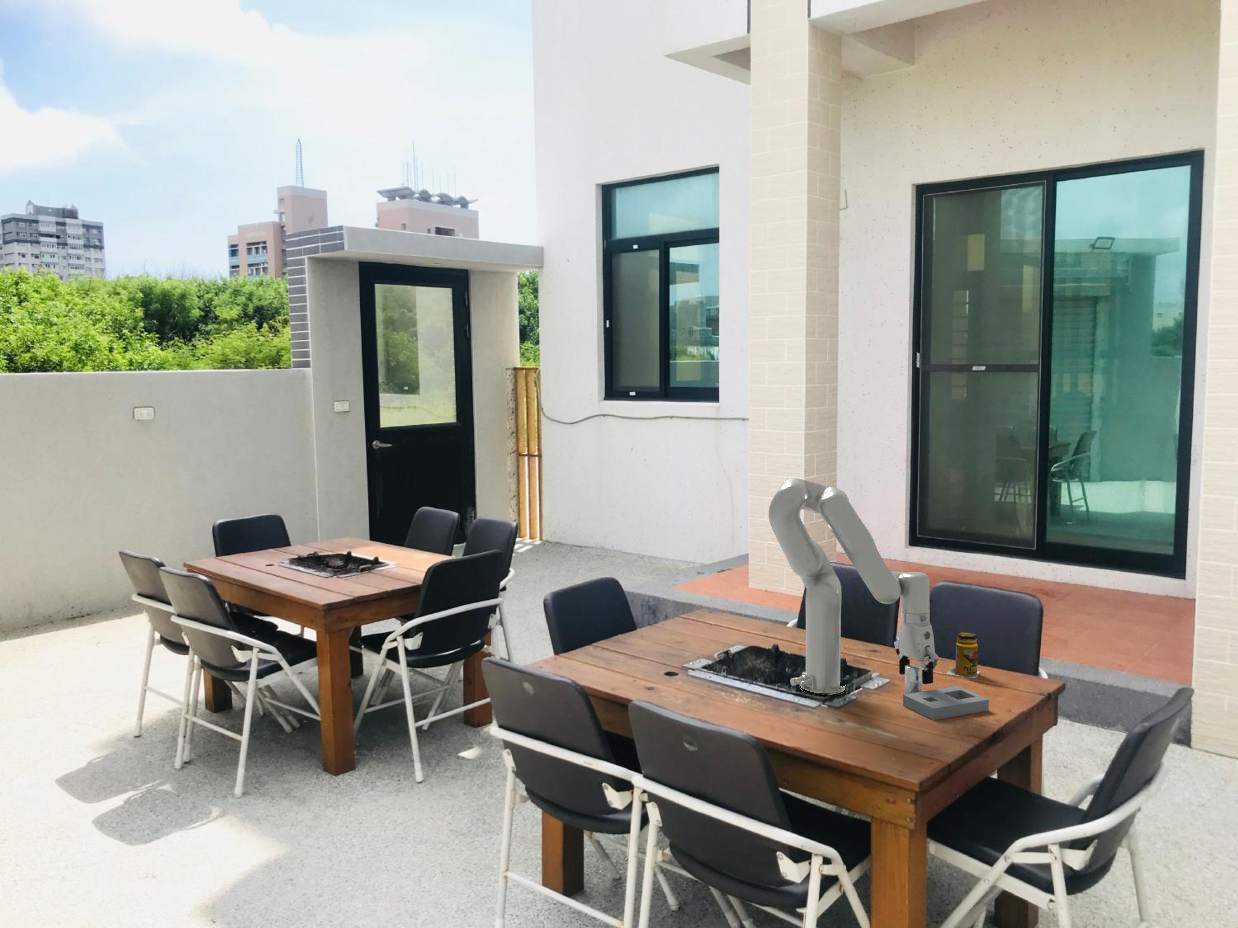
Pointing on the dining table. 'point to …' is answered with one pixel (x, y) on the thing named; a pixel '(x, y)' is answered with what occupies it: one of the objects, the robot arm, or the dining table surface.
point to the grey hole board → (945, 702)
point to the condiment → (966, 656)
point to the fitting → (913, 678)
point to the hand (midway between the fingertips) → (916, 678)
